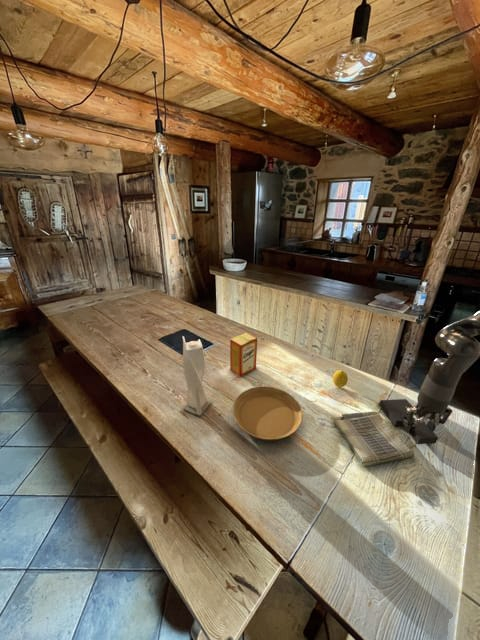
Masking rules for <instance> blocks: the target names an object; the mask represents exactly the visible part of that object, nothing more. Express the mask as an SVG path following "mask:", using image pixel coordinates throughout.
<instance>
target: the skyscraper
mask: <svg viewBox="0 0 480 640" xmlns="http://www.w3.org/2000/svg"><path fill="white" fill-rule="evenodd" d="M182 369H183V376H184V380H185V382H186V385H187V394H186V396H187V397H186V406H185V407H184V408H183V410H184V411H186V412H187V413H188V412H189V413H191V414H194V415H196V416H198V417H201V416H202V415H203V414H204V413H205V411H206V410H207V409H208V407H209V406H210V405H211V404H212V403H211V402H210V401H208V400H207V397H206V396H207V395H206V393H205V389H204V386H203V379H204V376H205V370H206V358H205V352H204V348H203V344H202V341H201V339H200V338H199V339H197V340H191V341H189V342H188V341H187V342H186V339H185V336H182Z"/></svg>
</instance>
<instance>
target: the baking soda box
mask: <svg viewBox="0 0 480 640" xmlns="http://www.w3.org/2000/svg"><path fill="white" fill-rule="evenodd" d="M257 351H258V337H257V336H255V335H253V334H251V333H249V332H244V333H242V334H240V335H237V336H234V337H233V338H230V339H229V354H230V355H229V356H230V358H229V361H230V362H229V363H230V364H229V367H230V368H229V369H230V371H231V372H232V373H234V374H235V375H237V376H238V377H239V378H241V377H243V376H245V375H246V374H249V373H250V372H252V371H253V370H256V368H257V355H258V354H257V353H258V352H257Z"/></svg>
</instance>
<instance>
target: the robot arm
mask: <svg viewBox="0 0 480 640" xmlns="http://www.w3.org/2000/svg"><path fill="white" fill-rule="evenodd" d="M478 335H480V310H478V311H477V312H476V313H474V314H472V315H470V316H468V317H465V318H463V319H460V320H458V321H455V322H453V323H451V324H449V325H446V326H445V327H443V328H442V329H440V330H439V331H438V332H437V334H436V336H435V338H434V341H435V345H436V346H437V347H438V348H439V349H440V350H442V351H443V352H444V353H445V354H447V355H448V356H447V358H446V357H438V358H435V359H434V360H433V361H432V363H431V365H430V368H429V370H428V372H427V375H426V376H425V378H424V380H423V382H422V384H421V386H420V389H419V391H418V395H417V403H416V404H415V405H414V406H413V407H414V408H410V407H409V406H406V407H405V411H404V416H403V420H404V421H405V423H406V424H407V427H406V429H405V431H406V432H407V433H408V435H410V436H411V435H413V432H414V430H415V428H416V426H417V425H418V424H419V423H422V422H423V421H424V422H425V420H428V422H427V423H426V424H427V426H428V427H429V428H430V429H431V430H432V431H433V432H435V430H436V428H437V427H438V426H439V425H444V424H446V422H447V421H448V419H449V417H450V416H451V415H452V413H453V409H451V407H450V406H449V404H450V403H451V401H452V399H453V397H454V394H455V392H456V388H457V385H458V383H459V381H460V379H461V377H462V375H463V374H464V373H465V372H466V371H468V369H469V368H470V367H471V366H472V365H473V364H474V363H475V362H476V361H477V360H478V359H479V358H480V342H479V341H478V340H477V339H476V338H475V336H478ZM417 414H418V416H419V417H420V419H419V418H418V416H417ZM414 419H415V420H416V421H415V422H413V420H414Z"/></svg>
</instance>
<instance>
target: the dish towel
mask: <svg viewBox="0 0 480 640" xmlns="http://www.w3.org/2000/svg"><path fill="white" fill-rule="evenodd" d="M333 422H334V423H335V426H336V427H337V429H338V430H339V431H340V433H341V434H342V436H343V438H344V439H345V440H346V442H347V443H348V445H349V447H350V448H351V450H352V451H353V454H354V455H355V456H356V458H357V459H358V460H359V463H360V464H361V466H362V467H369V466H370V467H371V466H375V465H380V464H386V463H390V462H394V461H401V460H405V459H410V458H412V457H415V455H414V454H415V453H414V451H413V450H412V449H411V448H410V447H409V446H407V444H406V443H405V442H404V441H403V440H402V439H401V438H400V437H399V436H398V435H397V433H396V432H395V430H393V428H391V427H392V426H390V425H389V424H388V423H387V422H386V420H385V419H384V418H383V417H382V415H381V414H380V413H379V411H376V410H371V411H364V412H363V411H362V412H351V413H342V414H341V416H335V417H334V418H333Z"/></svg>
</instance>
